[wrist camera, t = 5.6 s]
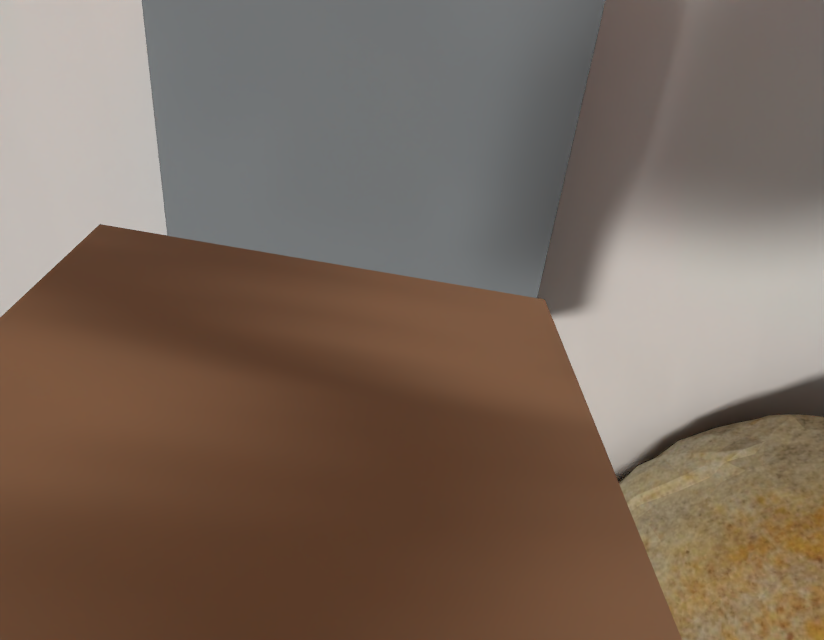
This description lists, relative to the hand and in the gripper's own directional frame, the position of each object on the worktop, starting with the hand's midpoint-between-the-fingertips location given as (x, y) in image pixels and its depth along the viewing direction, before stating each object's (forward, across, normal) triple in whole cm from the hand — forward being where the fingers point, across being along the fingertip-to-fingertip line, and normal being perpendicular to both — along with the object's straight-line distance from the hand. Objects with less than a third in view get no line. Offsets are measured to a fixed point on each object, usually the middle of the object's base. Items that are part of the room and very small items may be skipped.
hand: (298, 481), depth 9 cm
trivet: (+11, 0, -1) cm, 11 cm away
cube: (+1, 0, 0) cm, 1 cm away
